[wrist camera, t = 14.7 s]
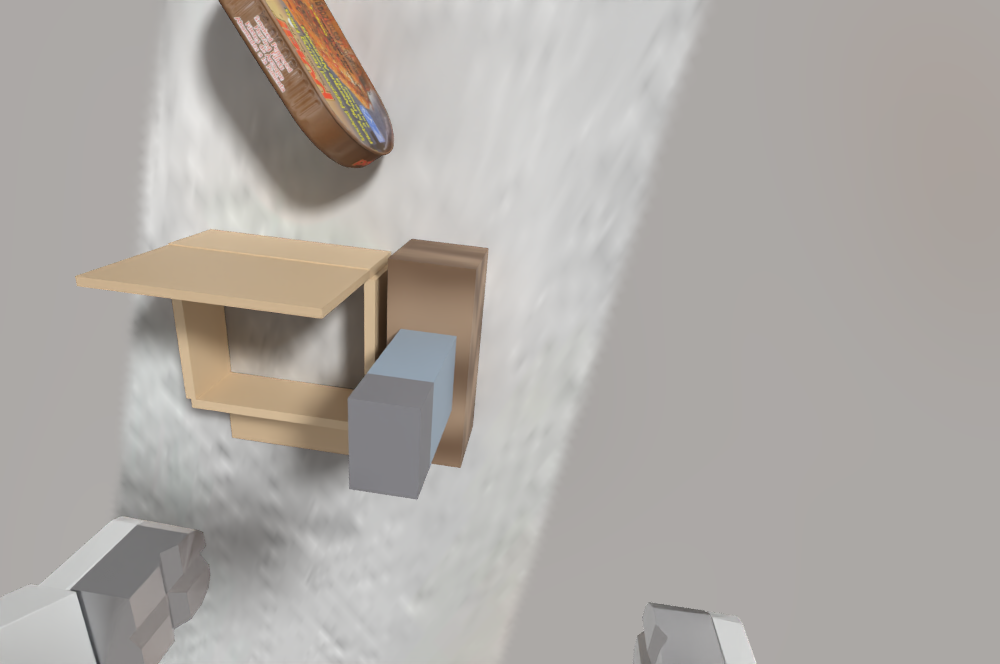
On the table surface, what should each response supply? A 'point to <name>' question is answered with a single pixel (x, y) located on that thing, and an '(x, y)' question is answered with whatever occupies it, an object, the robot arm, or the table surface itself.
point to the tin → (316, 76)
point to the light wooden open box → (266, 287)
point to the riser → (443, 320)
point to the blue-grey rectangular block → (401, 414)
